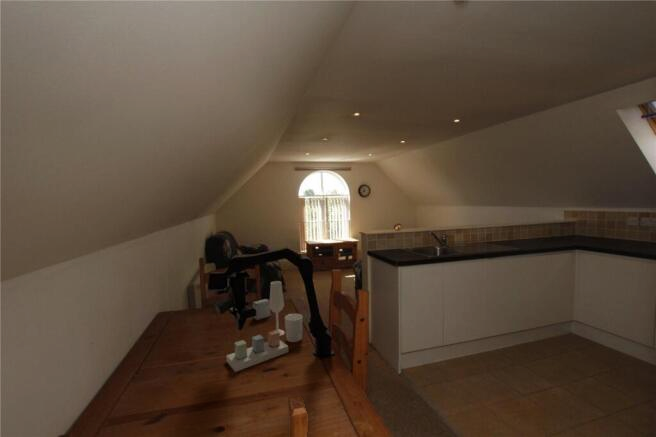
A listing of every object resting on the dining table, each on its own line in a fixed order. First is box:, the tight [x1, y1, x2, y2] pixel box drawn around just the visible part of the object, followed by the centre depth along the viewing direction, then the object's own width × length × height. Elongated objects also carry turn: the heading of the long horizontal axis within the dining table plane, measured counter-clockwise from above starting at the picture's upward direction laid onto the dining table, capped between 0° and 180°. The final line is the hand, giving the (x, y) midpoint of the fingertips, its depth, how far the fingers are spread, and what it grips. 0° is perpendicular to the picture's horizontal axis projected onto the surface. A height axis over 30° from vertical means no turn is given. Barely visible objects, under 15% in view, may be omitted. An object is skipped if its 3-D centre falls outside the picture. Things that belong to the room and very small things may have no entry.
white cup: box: [284, 313, 304, 343], centre depth 131 cm, size 8×8×10 cm
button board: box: [226, 339, 289, 373], centre depth 116 cm, size 9×22×2 cm, turn 128°
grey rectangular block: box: [251, 334, 265, 353], centre depth 116 cm, size 3×3×5 cm
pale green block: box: [234, 339, 248, 359], centre depth 111 cm, size 3×3×5 cm
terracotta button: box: [267, 329, 281, 347], centre depth 120 cm, size 3×3×5 cm
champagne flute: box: [269, 280, 286, 337], centre depth 136 cm, size 7×7×24 cm
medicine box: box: [252, 298, 271, 321], centre depth 157 cm, size 8×4×9 cm, turn 133°
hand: (239, 329), depth 111 cm, fingers closed
